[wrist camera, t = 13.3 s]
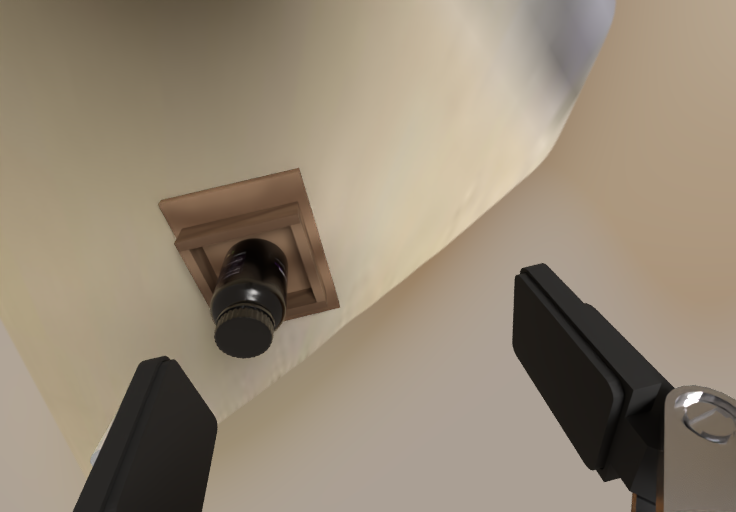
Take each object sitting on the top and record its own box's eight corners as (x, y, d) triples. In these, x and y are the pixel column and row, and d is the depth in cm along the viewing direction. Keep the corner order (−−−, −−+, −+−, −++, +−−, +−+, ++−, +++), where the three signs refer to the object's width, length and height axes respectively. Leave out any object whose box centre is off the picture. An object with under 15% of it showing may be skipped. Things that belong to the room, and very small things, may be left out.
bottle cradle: (161, 200, 38) (147, 218, 35) (298, 167, 39) (299, 182, 35) (229, 328, 48) (224, 352, 45) (339, 302, 48) (342, 323, 45)
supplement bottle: (301, 259, 43) (302, 335, 33) (262, 296, 45) (251, 378, 35) (251, 223, 40) (235, 294, 30) (210, 264, 42) (183, 345, 32)
